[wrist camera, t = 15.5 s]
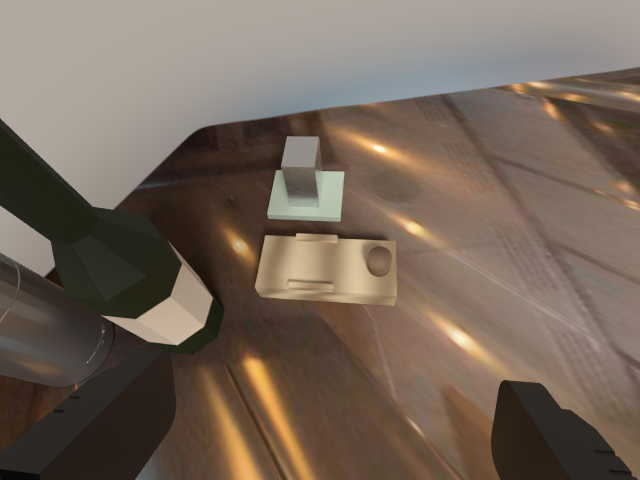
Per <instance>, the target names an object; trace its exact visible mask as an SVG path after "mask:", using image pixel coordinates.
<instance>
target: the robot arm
mask: <svg viewBox="0 0 640 480" xmlns="http://www.w3.org/2000/svg"><path fill="white" fill-rule="evenodd" d="M113 336H114V330H113V324H112V322H111V321H110V320H108V319H107V318H105V317H103V316H101V315H99V314H97V313H96V312H94V311H92V310H90V309H88V308H87V307H85V306H83V305H81V304H79V303H77V302H76V301H74V300H72V299H70V298H68V297H67V295H66V292H65V290H64V289H63V288H61V287H60V286H58V285H56V284H54V283H53V282H51V281H49V280H47V279H46V278H44V277H42V276H40V275H39V274H37V273H35V272H33V271H32V270H30V269H28V268H26V267H25V266H23V265H21V264H19V263H18V262H16V261H14V260H12V259H10V258H9V257H7V256H5V255H3V254H1V253H0V375H5V376H9V377H14V378H18V379H22V380H26V381H31V382H35V383H40V384H44V385H49V386H55V387H64V386H70V385H73V384H76V383H78V382H80V381H82V380H84V379H85V378H87V377H88V376H89V375H91V374H92V373H93V372H94V371H95V370H96V369H97V368H98V367H99V366H100V365H101V364H102V362H103V361H104V360H105V358H106V357H107V355H108V353H109V351H110V349H111V346H112V342H113ZM175 412H176V397H175V387H174V377H173V367H172V358H171V355H170V354H169V352H167V351H156V350H144V349H137V350H134V351H133V352H132V353H131V354H129V355H128V356H127V357H126V358H125V359H124V360H123V361H121V362H120V363H119V364H118V365H117V366H116V367H114V368H110V369H109V370H107V371H105V372H103V373H101V374H99V375H97V376H95V377H93V378H92V379H90V380H88V381H87V382H86V383H84V384H83V385H82V386H81V387H80V388H78V389H77V390H76V391H75V392H74V393H72V394H71V395H70V397H69V399H65V400H64V401H63V402H62V403H60V404H59V405H58V406H57V407H56V408H54V410H53V412H52V413H48V414H47V415H46V416H45V417H44V418H42V419H41V420H40V421H39V422H38V423H36V424H35V425H34V426H33V427H32V428H30V429H29V430H28V431H27V432H26V433H25V434H23V435H22V436H21V437H20V438H19V439H17V440H16V441H15V442H14V443H13V444H11V445H10V446H9V447H8V448H7V449H5V450H4V451H3V452H2V453H1V454H0V480H135V479H136V477H137V476H138V474H139V473H140V472H141V470H142V469H143V467H144V466H145V464H146V463H147V461H148V460H149V459H150V457H151V456H152V454H153V453H154V451H155V450H156V449H157V447H158V446H159V444H160V443H161V441H162V440H163V438H164V437H165V436H166V434H167V433H168V431H169V429H170V427H171V425H172V423H173V420H174V417H175ZM491 449H492V456H493V461H494V464H495V467H496V470H497V472H498V475H499V477H500V480H638V479H637V478H636V477H633V476H632V474H631V471H630V470H629V468H628V467H627V466H626V465H625V464H624V462H623V461H622V460H621V459H620V458H619V457H617V456H615V452H614V450H613V449H612V448H611V447H610V446H609V444H608V443H607V442H606V441H605V440H604V438H603V437H602V436H601V435H600V434H599V432H598V431H597V430H596V429H595V428H594V427H592V426H591V425H590V424H588V423H587V422H586V421H584V420H583V419H582V418H580V417H579V416H578V415H576V414H575V413H574V412H572V411H571V410H566V409H561V408H560V406H559V405H558V404H557V402H556V401H555V400H554V399H553V397H552V396H551V395H550V393H549V392H548V391H547V389H546V388H545V387H544V386H543V385H542V384H540V383H533V382H521V381H509V380H504V381H502V382H501V384H500V387H499V391H498V398H497V404H496V410H495V416H494V423H493V429H492V435H491Z"/></svg>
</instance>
